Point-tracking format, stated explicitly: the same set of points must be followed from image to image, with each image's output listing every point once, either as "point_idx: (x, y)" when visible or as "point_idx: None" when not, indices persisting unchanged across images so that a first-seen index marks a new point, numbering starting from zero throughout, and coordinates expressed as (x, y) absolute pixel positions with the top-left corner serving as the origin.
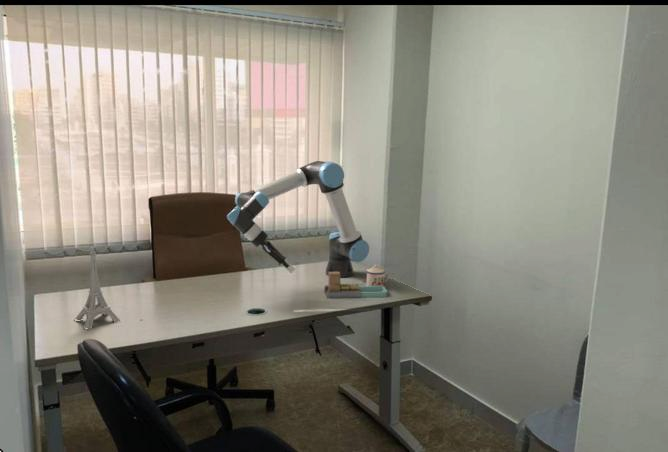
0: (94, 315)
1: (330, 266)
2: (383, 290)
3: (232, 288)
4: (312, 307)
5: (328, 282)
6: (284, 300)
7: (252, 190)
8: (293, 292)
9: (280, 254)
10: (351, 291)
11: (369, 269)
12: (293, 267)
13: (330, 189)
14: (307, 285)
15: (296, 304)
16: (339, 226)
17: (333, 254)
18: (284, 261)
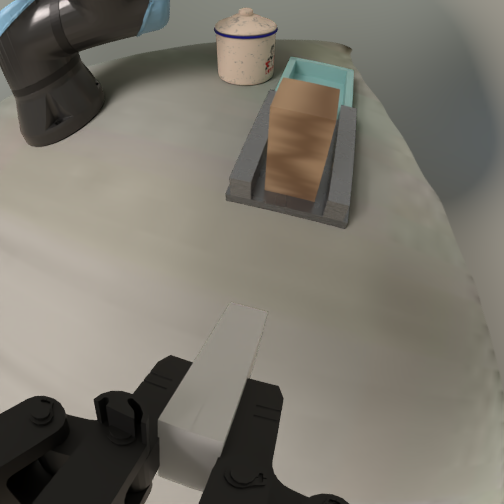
0: None
1: (46, 112)
2: (318, 68)
3: None
4: (425, 316)
5: (270, 154)
6: (292, 432)
7: None
8: (167, 341)
9: (54, 497)
10: (347, 127)
11: (241, 27)
12: (246, 321)
13: None
14: (97, 237)
15: (374, 383)
16: None
17: (38, 69)
18: (257, 461)
